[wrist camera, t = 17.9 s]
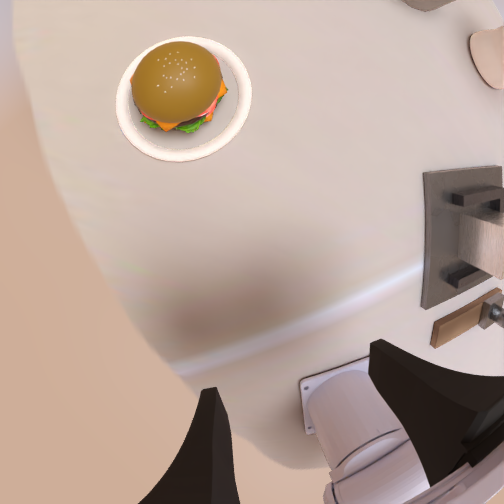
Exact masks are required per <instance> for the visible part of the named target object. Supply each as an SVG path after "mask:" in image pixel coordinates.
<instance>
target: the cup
mask: <svg viewBox="0 0 504 504" xmlns="http://www.w3.org/2000/svg"><path fill="white" fill-rule="evenodd" d="M402 1H403V2H405V3H406V4H407V5H409V6H410V7H412V8H415V9H418V10H421V11H424V12H426V11H431V10H435V9H437V8H439V7H441V6H444V5H446V4H448V3H451V2H453V1H455V0H402Z"/></svg>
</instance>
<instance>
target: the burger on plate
mask: <svg viewBox="0 0 504 504" xmlns="http://www.w3.org/2000/svg"><path fill="white" fill-rule="evenodd" d="M213 54H214V55H216V56H217V57H219V58H220V59H222V60H223V61H224V62H225V63H226V64H227V65H228V66H229V67H230V69H231V71H232V72H233V74H234V76H235V78H236V81H237V84H238V92H239V98H238V106H237V109H236V112H235V115H234V116H233V118H232V120H231V122H230V123H229V125H228V126H227V127H226V128H225V129H224V131H223V132H222V133H220V134H219V135H218V136H217V137H215V138H214V139H213V140H211V141H209V142H207V143H205V144H203V145H200V146H197V147H194V148H190V149H183V150H178V149H168V148H163V147H160V146H158V145H155V144H153V143H151V142H150V141H148V140H147V139H146V138H144V137H143V136H142V135H141V134H140V133H139V131H138V130H137V129H136V127H135V126H134V124H133V122H132V120H131V116H130V113H129V103H128V100H129V94H130V90H131V87H132V95H133V98H134V99H133V101H134V103H135V105H136V107H137V108H138V110H139V112H140V114H142V115H143V118H142V119H141V121H140V122H145V123H147V124H148V125H150V128H156V127H161V129H162V130H164V131H165V132H167V131H168V130H182V131H185V132H187V133H190V132H191V131H192V132H194V130H195V131H196V130H197V129H199V125H202V124H203V123H204V122H207V121H211V120H212V116H213V111H214V109H215V108H216V106H217V103H219V102H220V100H221V99H222V97H223V96H224V94H226V93H227V90H228V89H227V88H226V87H225V84H224V82H223V79H222V78H223V77H222V74H221V70H220V66H219V63H218V61H217V59H216V58H215V56H214V55H213ZM251 99H252V89H251V81H250V78H249V75H248V72H247V70H246V68H245V67H244V65H243V63H242V62H241V60H240V59H239V58H238V57H237V56H236V55H235V54H234V53H233V52H232V51H231V50H229V49H228V48H227V47H225V46H224V45H222V44H220V43H218V42H215V41H213V40H210V39H206V38H202V37H190V36H184V37H177V38H171V39H168V40H165V41H162V42H159V43H157V44H155V45H153V46H152V47H150V48H148V49H147V50H145V51H144V52H143V53H141V54H140V55H139V56H138V57H137V58H136V59H135V60H134V61H133V62H132V63H131V64H130V65H129V66H128V68H127V70H126V71H125V73H124V75H123V76H122V78H121V81H120V84H119V86H118V89H117V95H116V101H115V102H116V115H117V119H118V122H119V126H120V128H121V129H122V131H123V133H124V135H125V137H126V138H127V139H128V140H129V141H130V142H131V144H132V145H133V146H135V147H136V148H137V149H139V150H140V151H141V152H143V153H145V154H147V155H149V156H151V157H153V158H156V159H160V160H164V161H172V162H184V161H191V160H196V159H199V158H202V157H205V156H208V155H210V154H212V153H214V152H216V151H218V150H219V149H221V148H222V147H224V146H225V145H226V144H227V143H229V142H230V141H231V140H232V139H233V138H234V137H235V135H236V134H237V133H238V132H239V131H240V129H241V128H242V126H243V124H244V122H245V121H246V119H247V116H248V113H249V110H250V107H251Z"/></svg>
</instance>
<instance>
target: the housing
mask: <svg viewBox="0 0 504 504" xmlns="http://www.w3.org/2000/svg"><path fill="white" fill-rule="evenodd" d="M458 258H459V259H461V260H463V261H465V262H467V263H469V264H471V265H473V266H475V267H477V268H479V269H481V270H483V271H485V272H487V273H489V274H491V275H493V276H495V277H496V278H498V279H500V280H502V279H503V278H504V213H502V212H499V211H496V210H492V209H489V208H485V207H483V208H479V209H475V210H471V211H467V212H463V213H460V232H459V249H458Z"/></svg>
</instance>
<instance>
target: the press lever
mask: <svg viewBox="0 0 504 504" xmlns="http://www.w3.org/2000/svg"><path fill="white" fill-rule="evenodd" d="M503 301H504V295H503V294H501V293H499V292H498V293H496V294H494V295H493V296H491V297H490V298H488V299H486V300H485V301H484V303H483V308H482V312H481V317H480V321H479V326H480V327H481V328H483V329H486V328H487V327H489V326H490V325H492V324H493V323H494V322H495V323H497V324H498V325H500V326H501V327H502V328H504V309H503V308H502V305H503Z"/></svg>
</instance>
